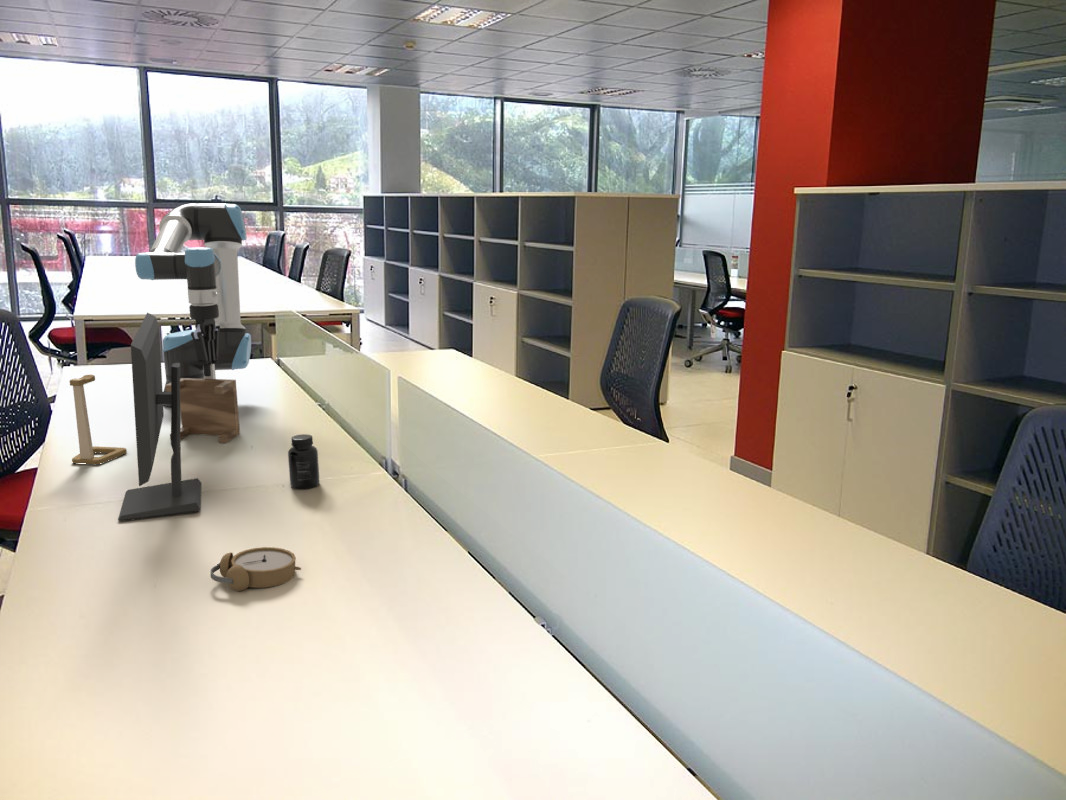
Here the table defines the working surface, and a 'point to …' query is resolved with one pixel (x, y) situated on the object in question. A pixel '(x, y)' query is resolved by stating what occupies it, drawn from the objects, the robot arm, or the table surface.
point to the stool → (208, 407)
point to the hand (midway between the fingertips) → (210, 386)
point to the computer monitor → (156, 432)
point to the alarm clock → (256, 568)
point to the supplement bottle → (303, 462)
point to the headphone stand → (88, 428)
